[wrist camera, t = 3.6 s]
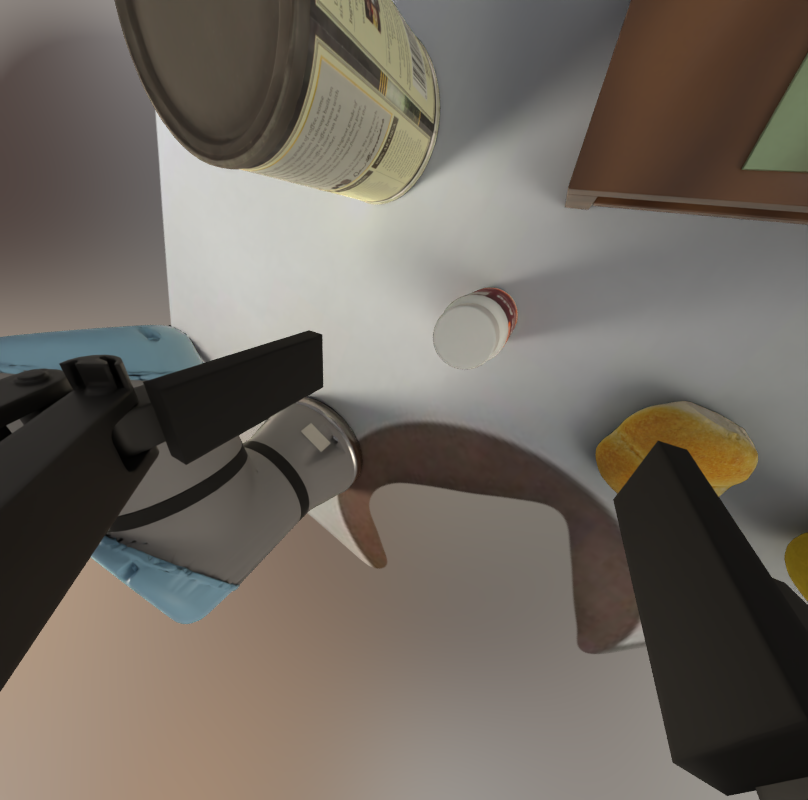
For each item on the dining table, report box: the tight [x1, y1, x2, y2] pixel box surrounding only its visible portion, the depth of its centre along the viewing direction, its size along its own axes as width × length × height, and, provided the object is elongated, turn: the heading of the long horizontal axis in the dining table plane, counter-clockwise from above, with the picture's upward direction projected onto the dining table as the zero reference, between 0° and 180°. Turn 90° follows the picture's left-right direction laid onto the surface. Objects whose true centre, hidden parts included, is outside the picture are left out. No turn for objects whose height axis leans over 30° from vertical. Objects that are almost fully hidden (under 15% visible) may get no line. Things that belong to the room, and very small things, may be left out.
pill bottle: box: [433, 287, 518, 369], centre depth 21 cm, size 5×5×8 cm
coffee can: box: [115, 0, 440, 204], centre depth 16 cm, size 10×10×14 cm
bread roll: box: [596, 401, 758, 497], centre depth 21 cm, size 8×9×4 cm
